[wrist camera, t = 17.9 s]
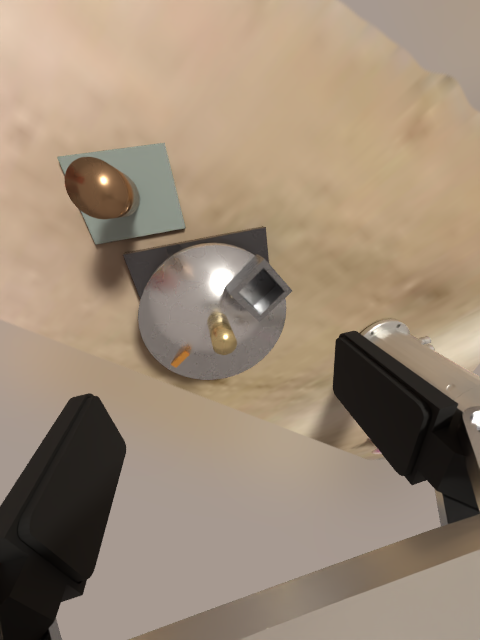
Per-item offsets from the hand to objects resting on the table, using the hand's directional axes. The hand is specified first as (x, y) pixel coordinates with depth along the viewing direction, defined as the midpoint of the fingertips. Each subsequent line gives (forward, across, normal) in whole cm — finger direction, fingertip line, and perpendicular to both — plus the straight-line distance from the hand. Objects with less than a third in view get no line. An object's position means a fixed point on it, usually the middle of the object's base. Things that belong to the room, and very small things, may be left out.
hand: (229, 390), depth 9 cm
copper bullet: (+22, +6, -9) cm, 24 cm away
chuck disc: (+19, 0, +5) cm, 19 cm away
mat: (+22, +6, -9) cm, 25 cm away
